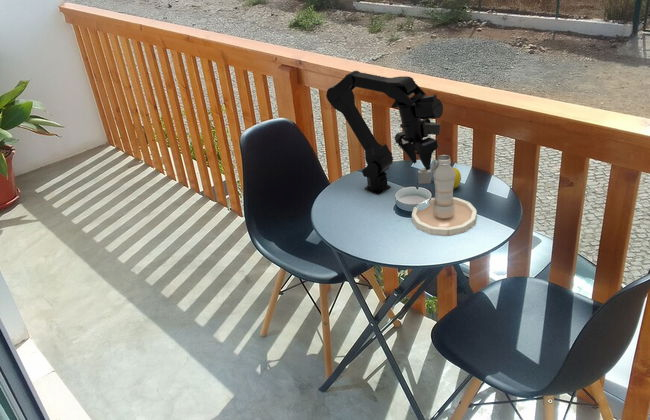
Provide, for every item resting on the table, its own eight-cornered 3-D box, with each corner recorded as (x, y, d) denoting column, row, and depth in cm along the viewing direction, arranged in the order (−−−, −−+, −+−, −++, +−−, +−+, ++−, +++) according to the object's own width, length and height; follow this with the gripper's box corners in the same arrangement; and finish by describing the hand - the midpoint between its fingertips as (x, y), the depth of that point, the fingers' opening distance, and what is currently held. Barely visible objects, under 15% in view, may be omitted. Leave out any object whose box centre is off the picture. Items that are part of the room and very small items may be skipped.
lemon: (460, 193, 195) (461, 171, 190) (443, 192, 196) (443, 171, 192) (460, 184, 199) (461, 163, 195) (444, 184, 200) (444, 163, 196)
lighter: (418, 183, 203) (418, 162, 199) (418, 181, 204) (417, 160, 200) (439, 183, 202) (439, 162, 198) (439, 180, 203) (439, 159, 199)
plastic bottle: (441, 208, 187) (441, 150, 176) (459, 215, 182) (460, 156, 172) (428, 216, 183) (427, 158, 173) (445, 224, 178) (445, 164, 168)
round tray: (400, 220, 184) (399, 215, 183) (438, 196, 194) (438, 190, 193) (449, 242, 171) (449, 236, 170) (488, 215, 182) (488, 209, 181)
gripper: (449, 115, 174) (459, 164, 179) (420, 106, 190) (430, 151, 196) (415, 127, 171) (426, 176, 177) (389, 118, 188) (400, 163, 194)
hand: (421, 166), depth 186 cm, fingers open, 9 cm apart
